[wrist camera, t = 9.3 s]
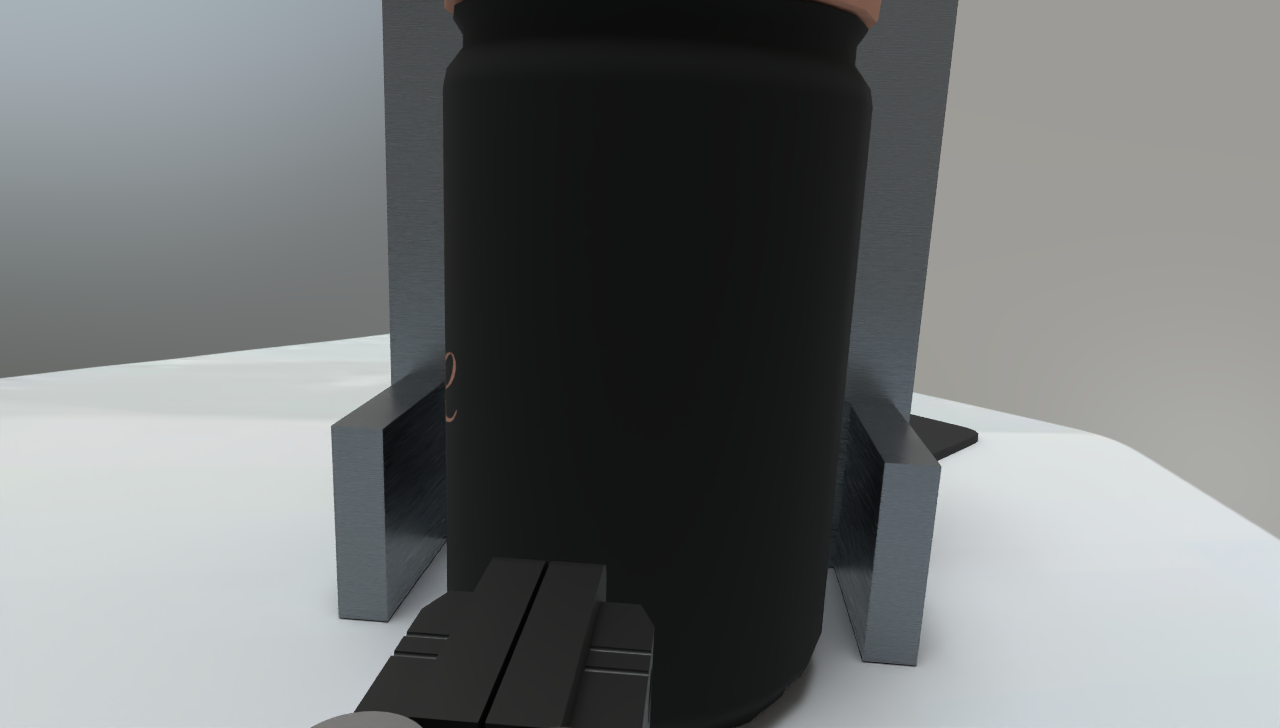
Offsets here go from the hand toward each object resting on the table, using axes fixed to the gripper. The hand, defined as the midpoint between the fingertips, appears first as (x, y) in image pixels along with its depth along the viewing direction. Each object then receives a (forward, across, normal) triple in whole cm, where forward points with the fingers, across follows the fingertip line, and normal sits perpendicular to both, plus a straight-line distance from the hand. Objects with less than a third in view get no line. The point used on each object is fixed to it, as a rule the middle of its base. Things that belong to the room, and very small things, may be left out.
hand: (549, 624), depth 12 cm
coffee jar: (+12, 0, +8) cm, 15 cm away
